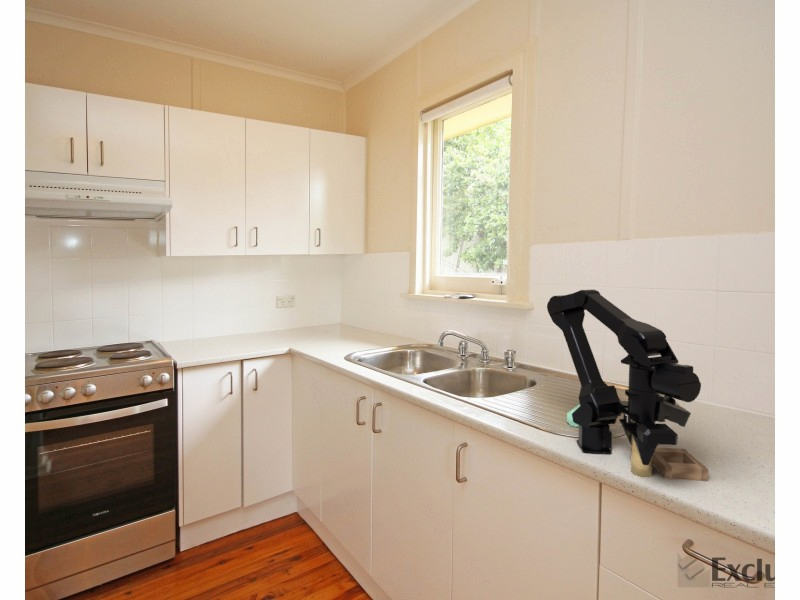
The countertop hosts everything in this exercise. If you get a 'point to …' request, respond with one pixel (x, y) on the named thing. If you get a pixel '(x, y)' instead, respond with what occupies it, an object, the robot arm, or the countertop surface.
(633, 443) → the peg
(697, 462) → the jig
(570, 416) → the container
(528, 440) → the countertop surface
